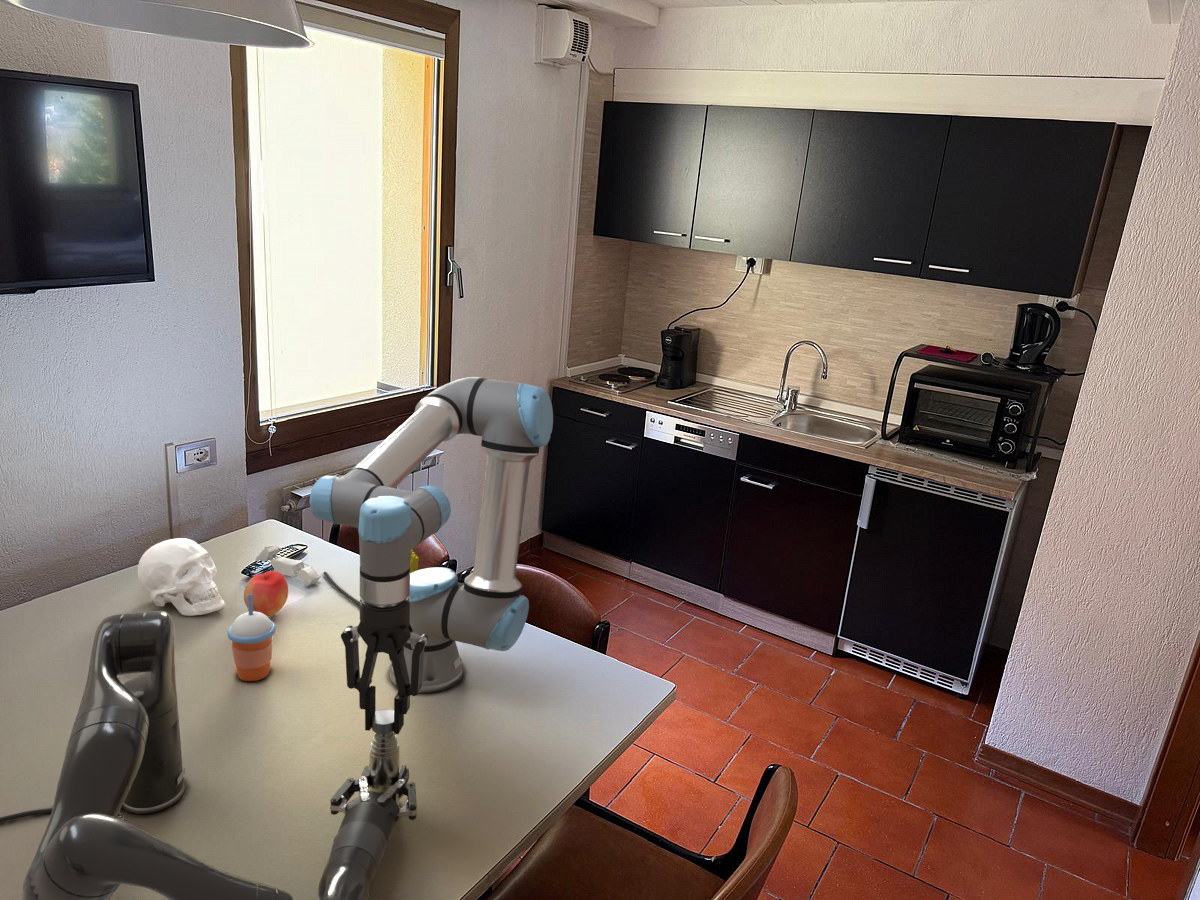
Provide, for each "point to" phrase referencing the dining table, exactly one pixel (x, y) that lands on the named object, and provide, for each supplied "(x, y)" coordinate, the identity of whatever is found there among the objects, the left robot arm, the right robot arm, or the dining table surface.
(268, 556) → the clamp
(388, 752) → the bottle
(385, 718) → the cap
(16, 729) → the dining table surface
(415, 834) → the dining table surface
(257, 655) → the cup with straw
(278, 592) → the apple
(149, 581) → the skull
